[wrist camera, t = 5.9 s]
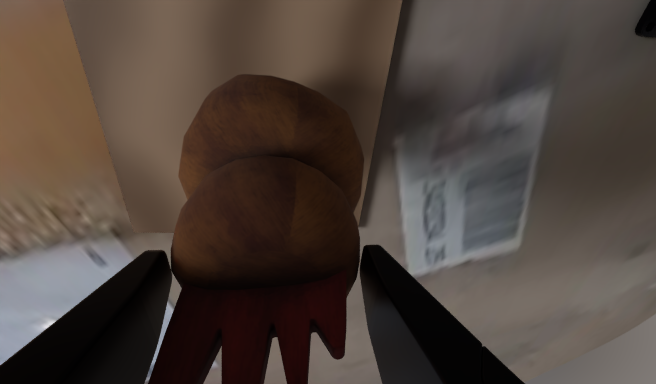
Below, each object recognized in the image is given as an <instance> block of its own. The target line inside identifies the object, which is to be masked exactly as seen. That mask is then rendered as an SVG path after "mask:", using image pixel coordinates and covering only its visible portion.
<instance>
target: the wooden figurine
mask: <svg viewBox="0 0 656 384" xmlns="http://www.w3.org/2000/svg"><path fill="white" fill-rule="evenodd" d="M363 169H364V155H363V151H362V147H361V144H360V142H359V139H358V137H357V134H356V132H355V129H354V127H353V124H352V122H351V119H350V117H349V115H348V113H347V111H346V110H344V109H343V108H341V107H340V106H338V105H337V104H335V103H334V102H332V101H331V100H329V99H328V98H327V97H325V96H324V95H322V94H321V93H320V92H318V91H315V90H313V89H311V88H308V87H306V86H303V85H301V84H299V83H296V82H294V81H290V80H286V79H283V78H279V77H275V76H269V75H252V74H241V75H237V76H235V77H234V78H232V79H230V80H229V81H227V82H225V83H224V84H222V85H220V86H219V87H217V88H216V89H214V90H212V91H211V92H210V93H209V95H208V96H207V97H206V98H205V100H204V101H203V103H202V105H201V107H200V109H199V110H198V112H197V114H196V116H195V117H194V119H193V121H192V123H191V125H190V126H189V128H188V130H187V132H186V133H185V135H184V138H183V145H182V152H181V159H180V166H179V174H178V177H179V180H180V182H181V185H182V187H183V190H184V192H185V195H186V197H187V202H186V203H185V204H184V206H183V207H182V208H181V211H180V214H179V217H178V220H177V223H176V226H175V231H174V237H173V242H172V247H171V271H172V273H173V274H174V276H175V278H176V279H177V281H178V283H179V284H180V286H181V288H182V290H181V292H180V295H179V298H178V300H177V303H176V306H175V308H174V311H173V314H172V316H171V319H170V322H169V324H168V327H167V330H166V332H165V335H164V338H163V341H162V344H161V347H160V350H159V353H158V356H157V359H156V362H155V365H154V368H153V371H152V374H151V377H150V380H149V383H148V384H203V383H204V381H205V379H206V377H207V375H208V373H209V370H210V368H211V366H212V364H213V362H214V360H215V358H216V356H217V354H218V352H219V350H220V348H221V346H222V384H264V379H265V374H266V369H267V364H268V358H269V353H270V348H271V343H272V338H274V337H278V342H279V347H280V351H281V356H282V361H283V366H284V371H285V376H286V381H287V384H308V371H309V356H310V341H311V333H313V332H317V334H318V335H319V337H320V338H321V340H322V342H323V343H324V345H325V346H326V348H327V349H328V351H329V353H330V354H331V356H332V357H333V358H334V359H341V358H343V356H344V354H345V340H346V298H347V296H348V294H349V292H350V290H351V288H352V286H353V284H354V282H355V280H356V278H357V273H358V267H359V262H360V236H359V230H358V223H357V220H356V218H355V216H354V214H353V213H354V210H355V208H356V206H357V204H358V201H359V199H360V197H361V190H362V179H363Z"/></svg>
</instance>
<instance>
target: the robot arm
mask: <svg viewBox="0 0 656 384" xmlns="http://www.w3.org/2000/svg"><path fill="white" fill-rule="evenodd" d="M647 25H648V27H647ZM646 27H647V28H646ZM635 33H636V35H639V36H646V37H656V0H650V2H649V4H648V6H647V8H646V9H645V11H644V13H643V15H642V17H641V18H640V20H639V22H638V24H637V26H636V28H635ZM360 279H361V286H362V292H363V299H364V306H365V313H366V319H367V325H368V331H369V335H370V339H371V343H372V346H373V350H374V354H375V358H376V361H377V365H378V369H379V373H380V376H381V380H382V384H525V383H524V382H522V381H521V380H520V379H519V378H518V377H517V376H516V375H515V374H514V373H513V372H512V371H511V370H509V369H508V368H507V367H506V366H505V365H504V364H503V363H502V362H501V361H500V360H499V359H498V358H497V357H496V356H495V355H494V354H492V353H491V352H490V351H489V350H488V349H487V348H486V347H485V346H483V347H482V343H481V342H480V341H479V340H478V339H477V338H476V337H475V336H474V335H473V334H472V333H471V332H470V331H468V330H467V329H466V328H465V327H464V326H463V325H462V324H461V323H460V322H459V321H458V320H457V319H456V318H455V317H454V316H453V315H452V314H451V313H450V312H449V311H448V310H447V309H446V308H445V307H444V306H443V305H442V304H440V303H439V302H438V301H437V300H436V299H435V298H434V297H433V296H432V295H431V294H430V293H429V292H428V291H427V290H426V289H425V288H424V287H423V286H422V285H421V284H420V283H419V282H418V281H417V280H416V279H415V278H414V277H412V276H411V275H410V274H409V273H408V272H407V271H406V270H405V269H404V268H403V267H402V266H401V265H400V264H399V263H398V262H397V261H396V260H395V259H394V258H393V257H392V256H391V255H390V254H389V253H388V252H387V251H386V250H384V249H383V248H382V247H381V246H380V245H366V246H364V248H363V252H362V258H361V263H360ZM171 283H172V272H171V269H170V265H169V262H168V258H167V255H166V253H165V251H163V250H148V251H145V252H143V253H142V254H141V255H139V256H138V257H137V258H136V259H134V260H133V261H132V262H131V263H129V264H128V265H127V266H125V267H124V268H123V269H122V270H120V271H119V272H118V273H117V274H115V275H114V276H113V277H112V278H110V279H109V280H108V281H107V282H105V283H104V284H103V285H101V286H100V287H99V288H98V289H96V290H95V291H94V292H93V293H91V294H90V295H89V296H88V297H86V298H85V299H84V300H82V301H81V302H80V303H79V304H77V305H76V306H75V307H74V308H72V309H71V310H70V311H69V312H67V313H66V314H65V315H63V316H62V317H61V318H60V319H58V320H57V321H56V322H55V323H53V324H52V325H51V326H50V327H48V328H47V329H46V330H44V331H43V332H42V333H41V334H39V335H38V336H37V337H36V338H34V339H33V340H32V341H31V342H29V343H28V344H27V345H26V346H24V347H23V348H22V349H20V350H19V351H18V352H17V353H15V354H14V355H13V356H12V357H10V358H9V359H8V360H7V361H5V362H4V363H3V364H1V365H0V384H144V383H145V380H146V377H147V374H148V371H149V368H150V366H151V363H152V360H153V357H154V354H155V351H156V348H157V344H158V341H159V337H160V333H161V329H162V324H163V319H164V315H165V310H166V306H167V301H168V297H169V292H170V288H171Z"/></svg>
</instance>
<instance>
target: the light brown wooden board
mask: <svg viewBox="0 0 656 384" xmlns="http://www.w3.org/2000/svg"><path fill="white" fill-rule="evenodd" d="M63 1H64V5H65V8H66V11H67V14H68V18H69V21H70V24H71V28H72V31H73V34H74V37H75V41H76V44H77V47H78V51H79V54H80V57H81V60H82V64H83V67H84V70H85V74H86V77H87V80H88V83H89V87H90V90H91V93H92V96H93V100H94V103H95V106H96V110H97V113H98V116H99V119H100V123H101V126H102V129H103V133H104V136H105V139H106V142H107V146H108V149H109V152H110V156H111V159H112V162H113V165H114V169H115V172H116V175H117V179H118V182H119V185H120V188H121V192H122V195H123V198H124V201H125V205H126V208H127V211H128V215H129V218H130V221H131V224H132V228H133V231H134V232H162V233H174V231H175V226H176V223H177V220H178V217H179V214H180V211H181V208H182V207H183V206H184V204H185V203H186V202H187V197H186V195H185V192H184V190H183V187H182V185H181V182H180V180H179V177H178V174H179V166H180V159H181V152H182V145H183V138H184V135H185V133H186V132H187V130H188V128H189V126H190V125H191V123H192V121H193V119H194V117H195V116H196V114H197V112H198V110H199V109H200V107H201V105H202V103H203V101H204V100H205V98H206V97H207V96H208V95H209V93H210V92H211V91H212V90H214V89H216V88H217V87H219V86H220V85H222V84H224V83H225V82H227V81H229V80H230V79H232V78H234V77H235V76H237V75H241V74H252V75H269V76H275V77H279V78H283V79H286V80H290V81H294V82H296V83H299V84H301V85H303V86H306V87H308V88H311V89H313V90H315V91H318V92H320V93H321V94H322V95H324V96H325V97H327V98H328V99H329V100H331V101H332V102H334V103H335V104H337V105H338V106H340V107H341V108H343V109H344V110H346V111H347V113H348V115H349V117H350V119H351V122H352V124H353V127H354V129H355V132H356V134H357V137H358V139H359V142H360V144H361V147H362V151H363V155H364V169H363V179H362V190H361V197H360V199H359V201H358V204H357V206H356V208H355V210H354V213H353V214H354V216H355V218H356V220H357V223H358V226H359V221H360V215H361V210H362V205H363V200H364V195H365V190H366V185H367V180H368V174H369V169H370V164H371V159H372V154H373V149H374V144H375V138H376V133H377V128H378V123H379V118H380V113H381V108H382V102H383V97H384V92H385V87H386V82H387V77H388V72H389V67H390V61H391V56H392V51H393V46H394V41H395V36H396V31H397V25H398V20H399V15H400V10H401V5H402V0H63Z"/></svg>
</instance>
